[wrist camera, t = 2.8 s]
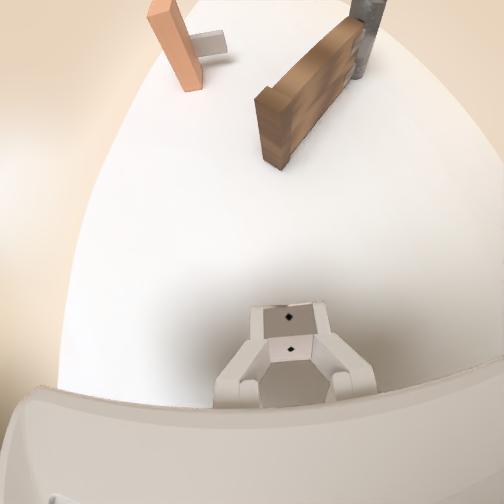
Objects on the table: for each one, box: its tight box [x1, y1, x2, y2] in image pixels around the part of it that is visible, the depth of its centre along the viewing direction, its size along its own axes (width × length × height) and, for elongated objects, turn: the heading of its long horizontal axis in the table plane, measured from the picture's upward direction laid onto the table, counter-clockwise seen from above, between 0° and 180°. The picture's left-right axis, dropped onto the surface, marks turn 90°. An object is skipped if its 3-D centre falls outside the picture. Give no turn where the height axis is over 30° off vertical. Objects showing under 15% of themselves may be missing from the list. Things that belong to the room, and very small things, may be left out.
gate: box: [254, 16, 365, 170], centre depth 21 cm, size 14×2×9 cm, turn 144°
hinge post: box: [349, 0, 387, 79], centre depth 20 cm, size 3×3×14 cm
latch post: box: [147, 0, 227, 92], centre depth 22 cm, size 5×4×12 cm
